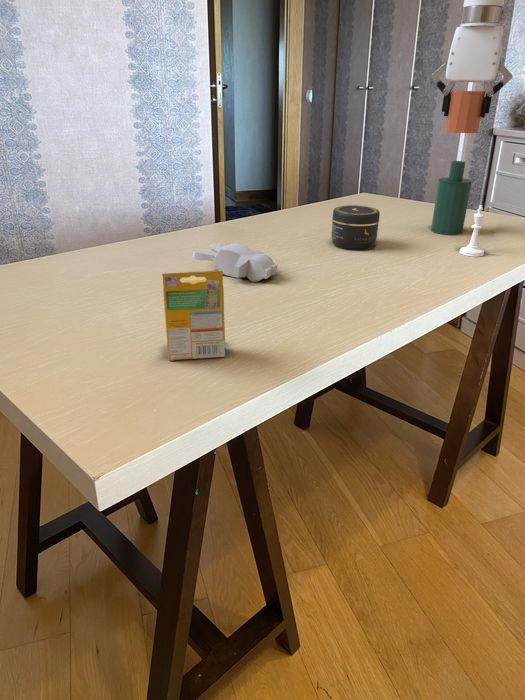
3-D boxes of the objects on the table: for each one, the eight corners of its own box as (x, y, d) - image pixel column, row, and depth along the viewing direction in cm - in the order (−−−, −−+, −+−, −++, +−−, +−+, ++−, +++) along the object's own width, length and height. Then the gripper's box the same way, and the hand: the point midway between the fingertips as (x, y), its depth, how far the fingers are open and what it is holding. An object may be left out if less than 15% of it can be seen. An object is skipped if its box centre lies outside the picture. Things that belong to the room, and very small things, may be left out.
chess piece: (487, 253, 112) (497, 205, 107) (478, 258, 108) (488, 208, 104) (465, 248, 115) (474, 201, 110) (455, 253, 111) (464, 205, 107)
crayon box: (223, 347, 71) (221, 263, 65) (225, 357, 68) (224, 271, 63) (168, 350, 70) (161, 265, 64) (168, 361, 67) (161, 273, 62)
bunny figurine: (260, 266, 89) (188, 243, 94) (257, 294, 91) (186, 269, 97) (286, 252, 96) (217, 231, 102) (282, 278, 99) (215, 256, 104)
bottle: (463, 229, 130) (476, 161, 122) (460, 236, 124) (473, 164, 116) (433, 226, 132) (444, 158, 125) (428, 233, 126) (440, 162, 119)
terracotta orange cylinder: (479, 131, 116) (486, 91, 113) (476, 133, 111) (484, 91, 107) (447, 129, 119) (453, 90, 115) (443, 132, 113) (449, 90, 110)
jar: (346, 253, 110) (349, 216, 107) (322, 241, 118) (324, 206, 115) (385, 248, 114) (389, 212, 111) (359, 237, 122) (362, 203, 119)
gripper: (528, 19, 105) (508, 117, 114) (438, 22, 112) (425, 114, 120) (528, 15, 99) (507, 119, 107) (433, 18, 105) (420, 115, 114)
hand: (464, 115), depth 113 cm, fingers closed on terracotta orange cylinder, 6 cm apart
